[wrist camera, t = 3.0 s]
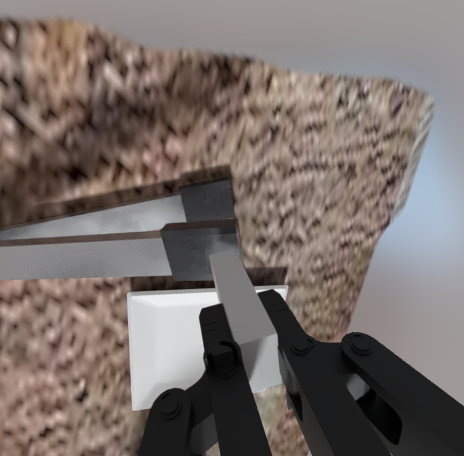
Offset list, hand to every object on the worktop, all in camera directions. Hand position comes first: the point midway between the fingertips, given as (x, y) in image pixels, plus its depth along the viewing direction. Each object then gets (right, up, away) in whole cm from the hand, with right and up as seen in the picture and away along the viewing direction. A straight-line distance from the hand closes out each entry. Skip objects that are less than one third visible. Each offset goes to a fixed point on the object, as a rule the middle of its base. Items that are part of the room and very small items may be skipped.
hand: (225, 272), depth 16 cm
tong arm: (-12, +1, +5) cm, 13 cm away
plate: (-3, -12, +20) cm, 24 cm away
